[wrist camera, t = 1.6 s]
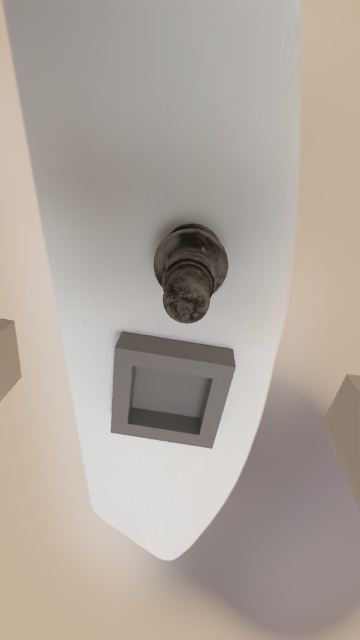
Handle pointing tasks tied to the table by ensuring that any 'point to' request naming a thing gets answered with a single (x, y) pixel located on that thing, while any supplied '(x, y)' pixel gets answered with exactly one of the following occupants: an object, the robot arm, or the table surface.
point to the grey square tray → (169, 389)
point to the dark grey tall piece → (190, 271)
